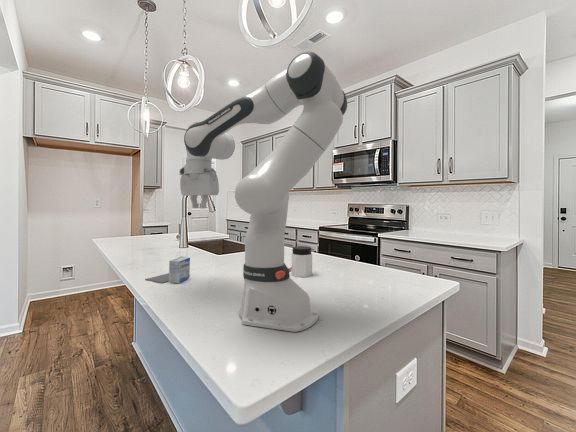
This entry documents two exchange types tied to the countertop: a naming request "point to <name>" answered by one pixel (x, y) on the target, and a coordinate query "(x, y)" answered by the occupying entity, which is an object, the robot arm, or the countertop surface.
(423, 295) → the countertop surface
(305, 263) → the jar
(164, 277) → the mat
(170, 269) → the medicine box
